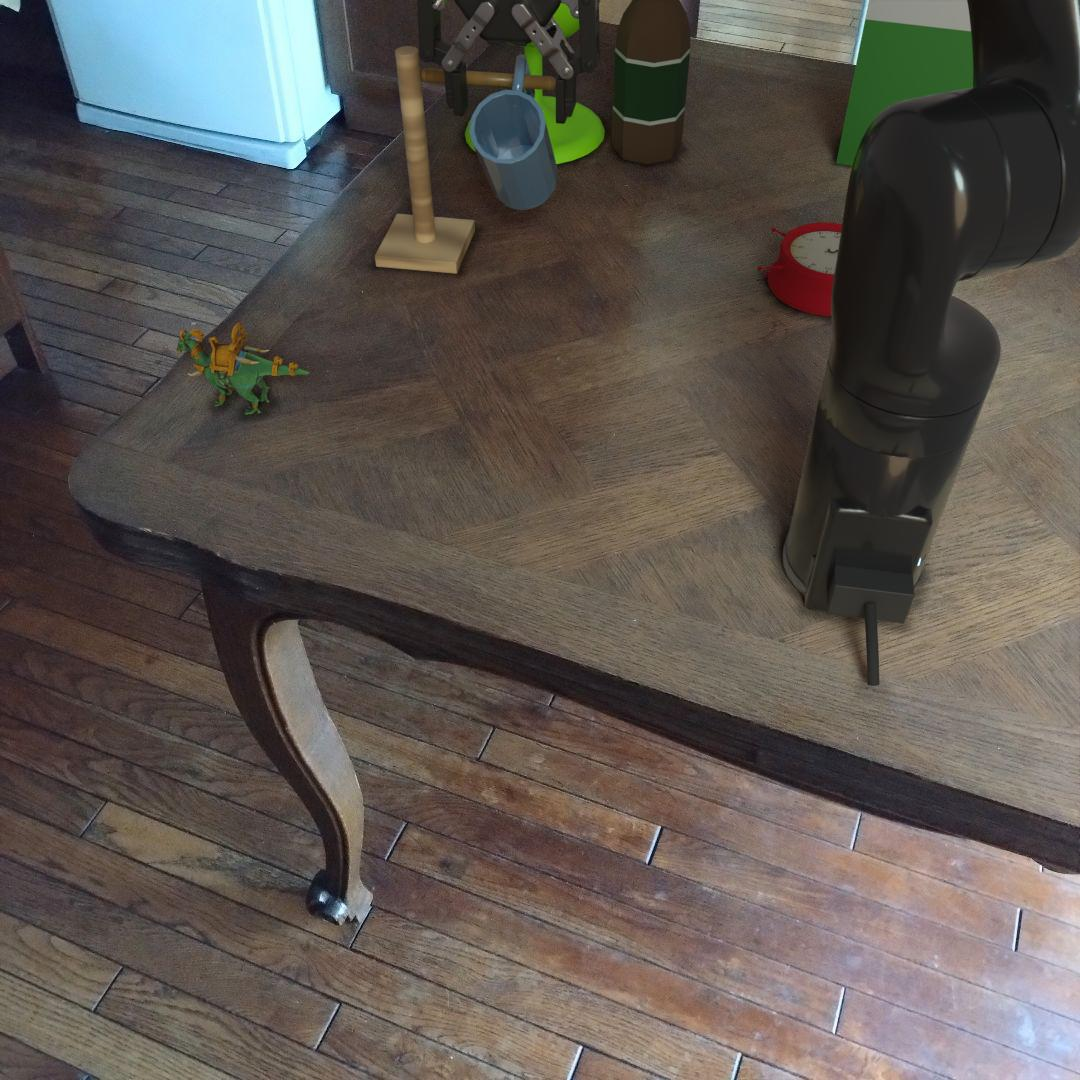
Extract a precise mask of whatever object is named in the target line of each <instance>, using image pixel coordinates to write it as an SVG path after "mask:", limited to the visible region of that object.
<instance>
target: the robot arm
mask: <svg viewBox="0 0 1080 1080" xmlns="http://www.w3.org/2000/svg"><path fill="white" fill-rule="evenodd" d="M453 1H454V3H455V4H456V6H457V7H458V8H459V10H460V12H461V13H462V14H463V16H464V17H465V18H466V20H467V21H466V23H465V24H464V26H463V28H462V29H461V30H460V31H459V34H458V35H457V36H456V38H454V41H453V42H452V44H448V43H446V42H444V41H442V19H441V18H442V17H441V16H442V15H441V14H442V13H441V11H443V10H444V9H445V8H446V6H447V5H448V2H449V0H417V1H416V2H417V27H418V29H417V31H418V51H419V59H420V60H421V61H423V62H424V63H431V62H432V63H434V64H437V65H438V66H440V67H441V69H443V71H444V78H445V83H444V90H445V102H446V105H447V107H448V109H453V115H454V116H455V117H464V116H465V115H466V112H467V110H468V107H469V96H468V95H469V94H468V85H467V76H466V71H467V62H465V61H463V59H464V57H465V56H466V55H467V54H468V52H469V51H470V49H471V48H472V47H473V45H474V44H475V42H476V40H478V38H481V39H482V40H484V41H486V43H487V45H497V46H498V45H501V44H507V43H510V44H509V45H511V44H513V45H512V46H514V45H516V47H521V46H527V44H528V43H531V42H533V43H534V45H535V46H536V47H537V49H538V50H539V52H540V53H541V54H542V58H544V59H547V60H548V62H549V63H550V65H551V66H552V67H553V68H554V70H555V72H556V73H557V75H556V78H555V80H556V87H555V97H556V123H560V124H565V122H566V119H567V117H571V116H572V113H573V111H574V108H575V105H576V102H577V76H578V75H580V74H584V73H587V74H591V73H593V72H595V70H596V68H597V66H598V61H599V59H600V57H601V24H600V21H601V20H600V3H599V0H453ZM561 3H563V4H566V5H567V6H568V7H569V10H570V14H571V15H572V17H573V18H575V19H579V30H578V31H579V32H578V33H579V51H578V50H577V51H576V52H575V51H574V49H573V48H572V47H571V45H570V44H569V42H568V41H567V38H566V39H565V37H564V34H563V31H562V29H561V28H560V26H559V25H558V24H557V22H556V21H555V19H554V18H553V15H554V14H555V12H556V11H557V9H558V8H559V6H560V4H561ZM967 4H968V9H969V17H970V26H971V37H972V52H973V87H971V88H966V89H960V90H955V91H949V92H943V93H938V94H932V95H927V96H922V97H917V98H912V99H908V100H904V101H900V102H898V103H895V104H892V105H891V106H889V107H887V108H886V109H884V110H883V111H882V112H880V113H879V114H878V116H877V117H876V118H875V119H874V120H873V121H872V123H871V124H870V126H869V127H868V129H867V130H866V132H865V134H864V136H863V138H862V140H861V142H860V145H859V147H858V150H857V153H856V156H855V158H854V162H853V166H851V171H850V174H849V179H848V185H847V190H846V196H845V202H844V207H843V216H842V222H841V224H842V229H841V236H840V242H839V248H838V255H837V261H836V267H835V273H834V279H833V285H832V293H831V316H830V317H831V318H830V320H831V341H830V342H831V343H830V348H829V351H828V352H829V353H828V357H827V362H826V367H825V371H824V375H823V380H822V383H821V388H820V392H819V397H818V400H817V405H816V410H815V414H814V416H813V422H812V427H811V431H810V436H809V440H808V445H807V448H806V453H805V456H804V457H805V458H804V462H803V465H802V470H801V471H802V472H801V475H800V479H799V483H798V488H797V492H796V496H795V501H793V502H792V503H791V506H790V509H789V515H788V519H790V518H791V520H790V524H789V527H788V528H789V529H788V533H787V535H786V537H785V541H784V544H783V548H782V557H781V558H782V565H783V569H784V572H785V574H786V576H787V578H788V579H789V581H790V582H791V584H792V585H793V586H794V588H796V589H797V591H799V592H800V593H801V594H802V595H803V598H804V607H805V608H806V609H808V610H812V611H813V610H814V611H822V612H826V614H827V615H833V616H840V617H849V618H857V619H862V620H863V619H864V628H865V648H866V682H867V683H866V686H870V687H878V686H880V653H879V635H878V633H879V632H878V631H879V630H878V621H879V622H880V621H881V622H887V623H888V622H889V623H895V624H905V623H906V620H907V617H908V614H909V612H910V610H911V606H912V603H913V601H914V599H915V593H916V591H917V589H918V586H919V584H920V582H921V579H922V576H923V568H924V566H925V563H926V561H927V558H928V555H929V552H930V550H931V547H932V544H933V542H934V538H935V535H936V534H937V530H938V527H939V525H940V523H941V520H942V517H943V514H944V511H945V509H946V506H947V503H948V500H949V498H950V495H951V492H952V490H953V486H954V484H955V483H956V479H957V477H958V473H959V471H960V467H961V465H962V462H963V460H964V457H965V454H966V451H967V449H968V447H969V444H970V440H971V438H972V435H973V433H974V430H975V428H976V426H977V422H978V419H979V418H980V417H979V416H980V414H981V413H982V412H981V411H982V409H983V406H984V403H985V401H986V398H987V396H988V394H989V391H990V389H991V386H992V383H993V380H994V378H995V376H996V373H997V370H998V367H999V363H1000V359H1001V352H1002V351H1001V350H1002V346H1001V340H1000V337H999V334H998V332H997V330H996V328H995V326H994V325H993V324H992V322H991V321H990V320H989V318H987V316H985V315H984V314H983V313H981V311H979V310H978V309H977V308H975V307H974V306H972V305H970V304H969V303H968V302H966V301H964V300H962V299H960V298H958V297H956V296H954V295H953V294H954V290H955V288H956V285H957V283H958V282H962V281H967V280H971V279H976V278H980V277H985V276H990V275H993V274H998V273H1003V272H1007V271H1010V270H1015V269H1019V268H1023V267H1028V266H1032V265H1036V264H1039V263H1043V262H1046V261H1049V260H1051V259H1054V258H1056V257H1059V256H1061V255H1062V254H1064V253H1066V251H1068V250H1069V249H1070V248H1071V247H1073V245H1074V244H1076V243H1077V241H1078V240H1079V239H1080V0H967ZM542 40H543V41H542Z"/></svg>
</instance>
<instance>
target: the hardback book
mask: <svg viewBox="0 0 1080 1080" xmlns="http://www.w3.org/2000/svg"><path fill="white" fill-rule="evenodd" d="M971 87H973V52H972V37H971V26H970V17H969V9H968V4H967V0H868V3H867V8H866V14H865V17H864V23H863V28H862V33H861V37H860V43H859V47H858V53H857V57H856V63H855V68H854V73H853V78H852V83H851V88H850V93H849V98H848V101H847V102H848V103H847V108H846V113H845V118H844V122H843V127H842V133H841V137H840V142H839V147H838V153H837V156H836V157H837V158H836V163H835V164H836V165H844V166H849V167H852V166H853V162H854V158H855V156H856V153H857V150H858V147H859V145H860V142H861V140H862V138H863V136H864V134H865V132H866V130H867V129H868V127H869V126H870V124H871V123H872V121H873V120H874V119H875V118H876V117H877V116H878V114H879V113H880V112H882V111H883V110H884V109H886V108H887V107H889V106H891V105H892V104H895V103H898V102H900V101H904V100H908V99H912V98H917V97H922V96H927V95H932V94H938V93H943V92H949V91H955V90H960V89H966V88H971Z"/></svg>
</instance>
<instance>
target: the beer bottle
mask: <svg viewBox="0 0 1080 1080" xmlns="http://www.w3.org/2000/svg"><path fill="white" fill-rule="evenodd" d="M688 17H689V16H688V14H687V12H686V10H685V8H684V6H683V5H682V3H681V0H631V1H630V3H629V4H628V6H627V7H626V8H625V10H624V12H622V16H621V19H620V21H619V24H618V26H617V29H616V36H615V37H616V38H615V45H614V46H615V48H614V66H613V67H614V70H613V71H614V72H613V93H612V94H613V95H612V118H611V119H612V121H611V122H612V123H611V141H612V142H611V143H612V144H611V145H612V147H613V149H614V150H615V152H616V153H617V154H618V155H619V157H621V158H622V159H623V160H624V161H628V162H633V163H637V164H642V165H643V164H644V165H652V164H656V163H657V164H658V163H662V162H667V161H671V160H672V159H673V157H674V156H675V155H676V153H677V152H678V151H679V149H680V148H681V146H682V142H683V141H682V139H683V133H684V132H683V131H684V124H685V113H686V101H687V90H688V81H689V80H688V79H689V67H690V58H691V39H692V38H691V35H692V34H691V33H692V32H691V31H692V29H691V25H690V21H689V18H688Z"/></svg>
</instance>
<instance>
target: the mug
mask: <svg viewBox="0 0 1080 1080" xmlns="http://www.w3.org/2000/svg"><path fill="white" fill-rule="evenodd" d="M514 65H515V66H514V73H513V74H514V79H513V86H512V88H511V89H502V90H500V91H496V92H492V93H490V94H489V95H488V96H486V98H484V99H483V100H482V101H481V102H479V103H478V105H476V106H477V107H476V108H475V109H474V111H473V113H472V115H471V116H470V120H471V124H470V135H471V139H472V142H473V146H474V148H475V150H476V152H475V153H476V155H477V158H478V160H479V162H480V165H481V167H482V170H483V173H484V174H485V177H486V180H487V182H488V184H489V186H490V189H491V191H492V192H493V194H494V196H495V197H496V199H497V200H498V201H499V202H500V203H502V204H503V205H504V206H505V207H507V208H510V209H513V210H518V211H527V210H532V209H536V208H537V207H539V206H541V205H543V204H544V203H545V202H546V201H548V200H549V198H550V197H551V196H552V195H553V193H554V192H555V190H556V186H557V184H558V179H559V173H558V172H559V171H558V170H559V169H558V164H556V161H555V157H554V153H553V149H552V145H551V141H550V137H549V133H548V129H547V125H546V121H545V118H544V114H543V111H542V108H541V107H540V105H539V104H538V103H537V102H536V101H535V99H534V97H535V90H534V89H524V88H523V85H524V77H525V75H531V74H530V70H529V66H528V63H527V59H526V57H525V54H518V55H517V56H516V59H515V64H514Z"/></svg>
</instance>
